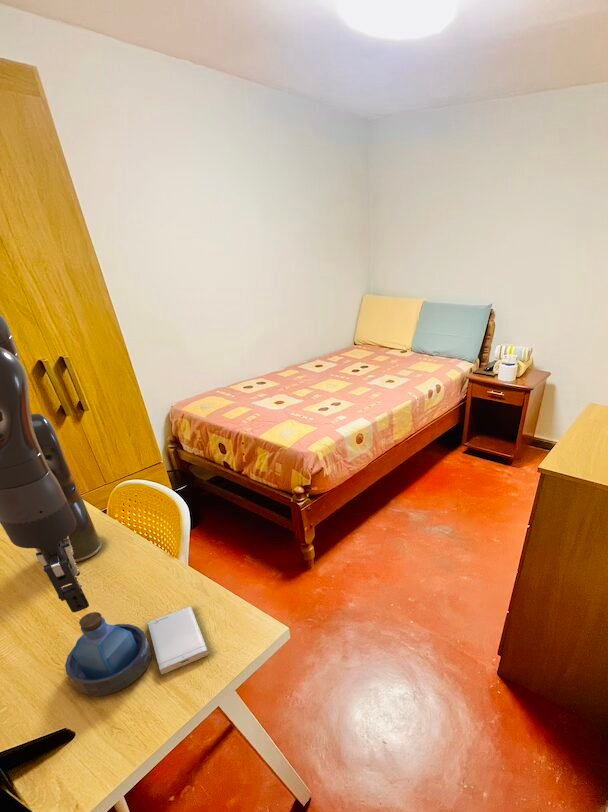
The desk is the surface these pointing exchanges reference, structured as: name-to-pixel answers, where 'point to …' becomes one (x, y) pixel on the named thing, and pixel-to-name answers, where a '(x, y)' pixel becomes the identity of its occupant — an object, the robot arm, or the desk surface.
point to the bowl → (116, 680)
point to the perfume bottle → (103, 647)
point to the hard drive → (177, 640)
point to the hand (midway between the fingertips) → (76, 591)
